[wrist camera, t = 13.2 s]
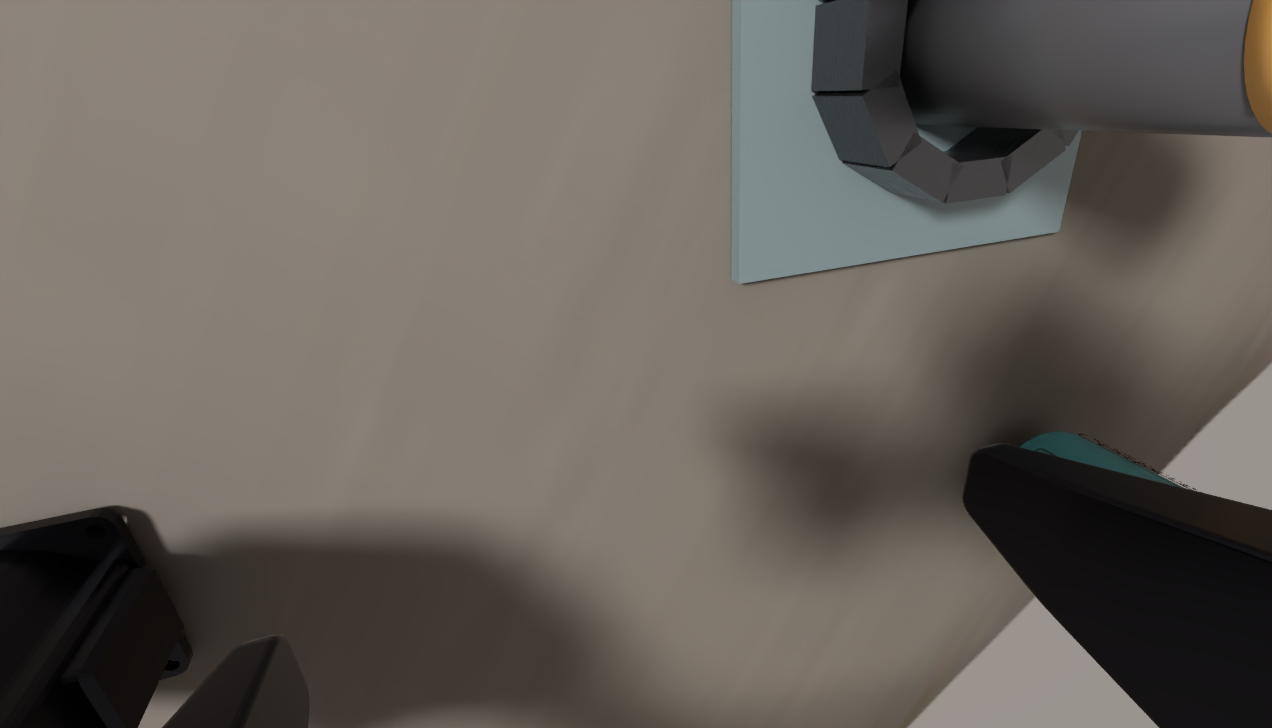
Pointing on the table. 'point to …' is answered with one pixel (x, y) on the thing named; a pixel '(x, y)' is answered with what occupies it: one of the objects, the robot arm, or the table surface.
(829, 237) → the blue-gray square plate
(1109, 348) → the table surface
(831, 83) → the barrel ring
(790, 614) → the table surface
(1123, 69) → the gray canister
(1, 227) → the table surface
